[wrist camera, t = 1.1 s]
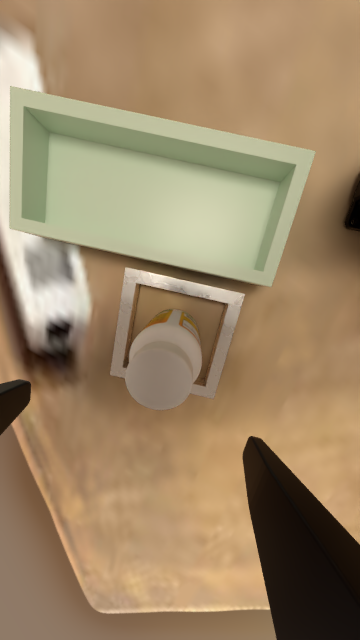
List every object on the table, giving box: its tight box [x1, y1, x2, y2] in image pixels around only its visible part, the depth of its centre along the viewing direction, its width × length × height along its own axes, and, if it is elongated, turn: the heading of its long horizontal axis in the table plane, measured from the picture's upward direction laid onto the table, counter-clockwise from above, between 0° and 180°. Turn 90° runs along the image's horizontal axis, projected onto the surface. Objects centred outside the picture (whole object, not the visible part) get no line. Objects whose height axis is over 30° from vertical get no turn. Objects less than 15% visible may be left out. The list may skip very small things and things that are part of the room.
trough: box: [10, 86, 316, 287], centre depth 16 cm, size 22×10×4 cm, turn 77°
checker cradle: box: [110, 267, 245, 399], centre depth 19 cm, size 11×11×2 cm
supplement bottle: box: [125, 309, 202, 410], centre depth 16 cm, size 5×5×10 cm
